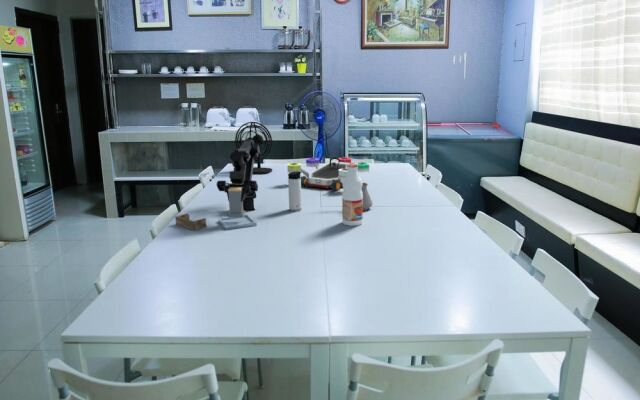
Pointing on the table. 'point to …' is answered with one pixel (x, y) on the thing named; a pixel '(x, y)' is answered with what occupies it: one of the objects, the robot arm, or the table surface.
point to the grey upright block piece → (235, 202)
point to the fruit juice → (352, 197)
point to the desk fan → (258, 140)
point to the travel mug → (294, 191)
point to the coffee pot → (366, 197)
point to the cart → (326, 172)
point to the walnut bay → (190, 222)
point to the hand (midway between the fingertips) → (235, 201)
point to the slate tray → (237, 222)
